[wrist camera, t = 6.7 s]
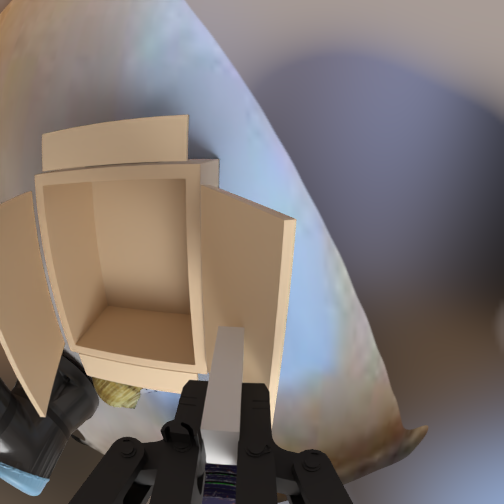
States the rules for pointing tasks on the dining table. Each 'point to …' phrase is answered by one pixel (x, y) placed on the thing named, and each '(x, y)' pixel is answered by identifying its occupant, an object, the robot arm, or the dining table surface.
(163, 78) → the dining table surface
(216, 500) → the dark blue barrel
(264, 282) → the flap
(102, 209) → the carton
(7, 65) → the dining table surface
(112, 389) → the seashell
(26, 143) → the dining table surface
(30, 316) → the flap
